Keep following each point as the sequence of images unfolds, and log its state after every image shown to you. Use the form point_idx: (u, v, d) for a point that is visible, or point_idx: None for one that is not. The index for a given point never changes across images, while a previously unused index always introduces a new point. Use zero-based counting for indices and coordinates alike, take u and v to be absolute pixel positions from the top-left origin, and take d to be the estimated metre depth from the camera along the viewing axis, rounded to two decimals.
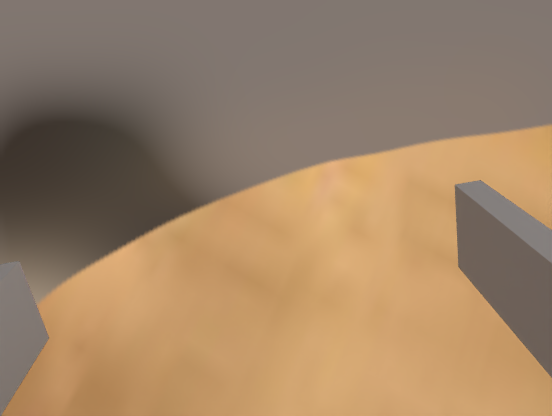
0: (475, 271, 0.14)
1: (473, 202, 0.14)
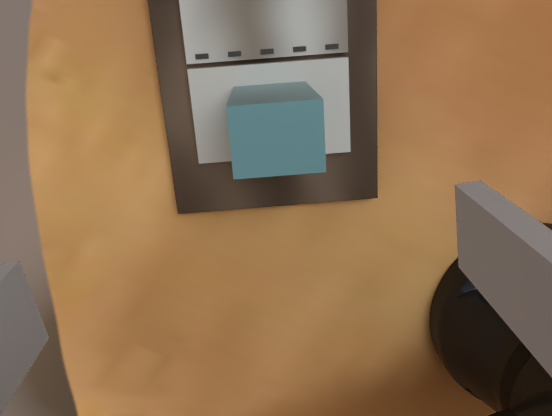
0: (475, 271, 0.14)
1: (473, 202, 0.14)
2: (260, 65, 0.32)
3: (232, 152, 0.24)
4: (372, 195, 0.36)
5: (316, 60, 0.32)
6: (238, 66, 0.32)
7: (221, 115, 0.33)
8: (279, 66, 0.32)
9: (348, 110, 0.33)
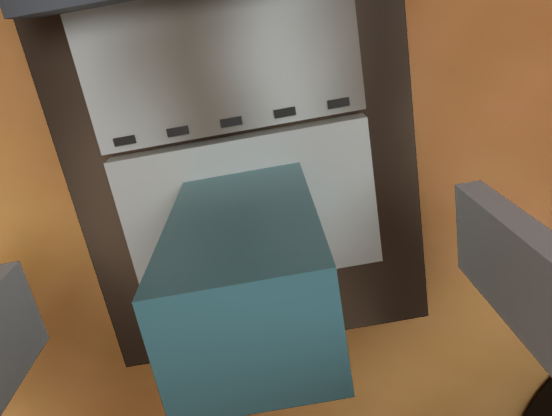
0: (475, 271, 0.14)
1: (473, 202, 0.14)
2: (222, 145, 0.19)
3: (159, 383, 0.12)
4: (419, 312, 0.23)
5: (314, 127, 0.19)
6: (186, 150, 0.19)
7: None
8: (254, 143, 0.19)
9: (374, 199, 0.20)
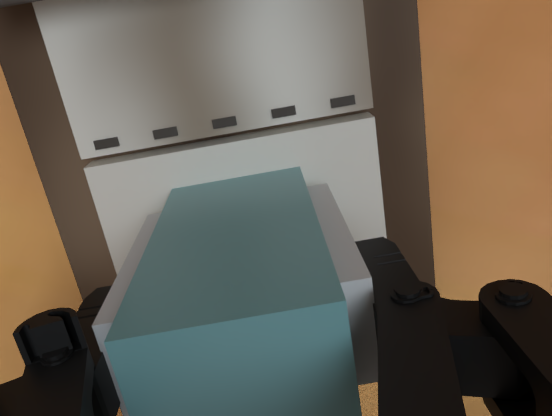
0: None
1: None
2: (215, 147, 0.17)
3: None
4: None
5: (316, 128, 0.17)
6: (175, 153, 0.17)
7: None
8: (250, 145, 0.17)
9: (381, 207, 0.18)
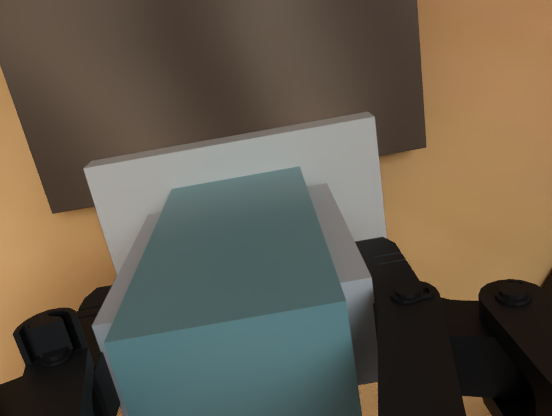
0: None
1: None
2: (214, 147, 0.17)
3: None
4: (415, 143, 0.19)
5: (316, 128, 0.17)
6: (175, 153, 0.17)
7: None
8: (250, 145, 0.17)
9: (381, 206, 0.18)
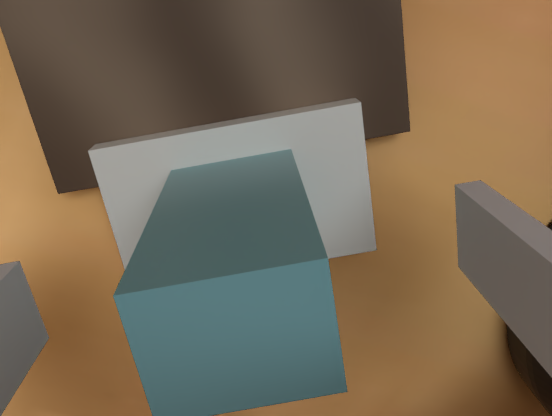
0: (475, 271, 0.14)
1: (473, 202, 0.14)
2: (211, 131, 0.18)
3: (144, 379, 0.11)
4: (400, 127, 0.20)
5: (306, 113, 0.18)
6: (174, 137, 0.18)
7: None
8: (244, 129, 0.19)
9: (367, 187, 0.20)
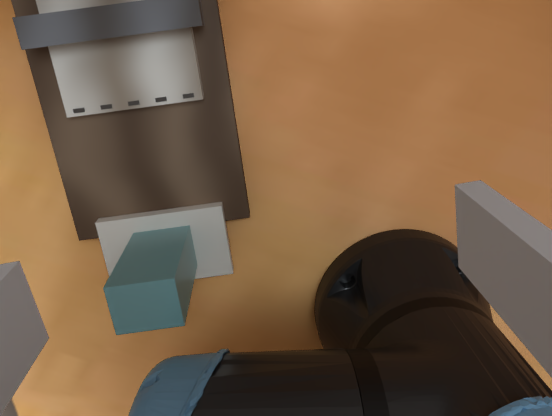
0: (475, 271, 0.14)
1: (473, 202, 0.14)
2: (152, 216, 0.40)
3: (112, 317, 0.33)
4: (244, 215, 0.42)
5: (196, 209, 0.40)
6: (135, 218, 0.40)
7: None
8: (167, 216, 0.40)
9: (227, 243, 0.41)
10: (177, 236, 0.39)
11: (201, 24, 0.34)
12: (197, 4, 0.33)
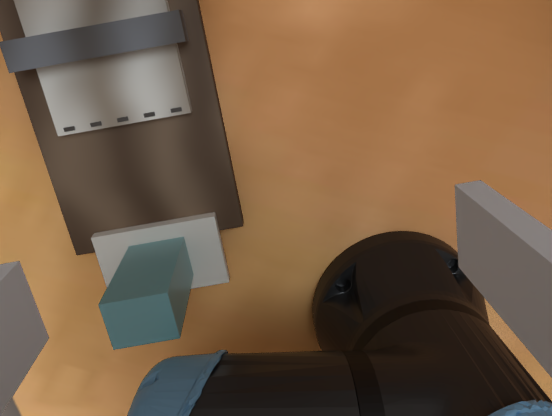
0: (475, 271, 0.14)
1: (473, 202, 0.14)
2: (146, 229, 0.41)
3: (109, 332, 0.34)
4: (238, 224, 0.42)
5: (190, 221, 0.41)
6: (130, 231, 0.41)
7: None
8: (161, 228, 0.41)
9: (221, 253, 0.42)
10: (171, 248, 0.39)
11: (184, 40, 0.34)
12: (179, 20, 0.34)
